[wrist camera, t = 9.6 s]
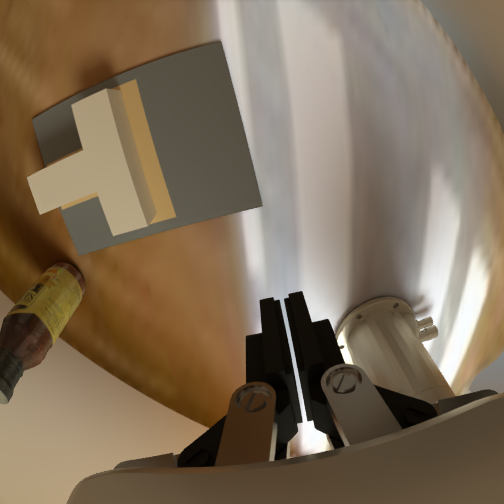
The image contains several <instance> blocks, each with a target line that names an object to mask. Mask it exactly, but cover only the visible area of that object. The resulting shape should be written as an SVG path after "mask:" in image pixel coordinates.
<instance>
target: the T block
mask: <svg viewBox="0 0 504 504" xmlns="http://www.w3.org/2000/svg"><path fill="white" fill-rule="evenodd" d="M71 106H72V110H73V114H74V118H75V122H76V126H77V130H78V133H79V137H80V140H81V144H82V147H83V150H82V151H80V152H78V153H76V154H73V155H71V156H69V157H67V158H65V159H63V160H61V161H58V162H56V163H54V164H52V165H50V166H48V167H46V168H44V169H42V170H40V171H38V172H37V173H35V174H33V175H31V176H29V177H27V179H28V183H29V186H30V189H31V191H32V194H33V197H34V200H35V203H36V206H37V208H38V211H39V214H40V215H41V214H43V213H45V212H48V211H50V210H52V209H55V208H57V207H60V206H62V205H65V204H67V203H70V202H72V201H75V200H77V199H80V198H82V197H85V196H87V195H90V194H93V193H95V192H97V194H98V197H99V200H100V203H101V206H102V208H103V211H104V214H105V216H106V219H107V222H108V224H109V227H110V230H111V232H112V235H113V236H116V235H119V234H123V233H126V232H129V231H133V230H136V229H140V228H143V227H147V226H148V225H149V224H150V223H151V221H152V220H153V218H154V217H155V216H156V214H157V211H156V208H155V205H154V202H153V199H152V196H151V193H150V190H149V187H148V183H147V180H146V177H145V174H144V171H143V167H142V164H141V161H140V157H139V154H138V151H137V147H136V144H135V140H134V137H133V133H132V130H131V126H130V123H129V119H128V115H127V111H126V108H125V104H124V100H123V96H122V92H121V91H120V90H114V89H107V88H106V89H104V90H102V91H99V92H97V93H95V94H93V95H91V96H89V97H86V98H84V99H82V100H80V101H78V102H76V103H74V104H72V105H71Z"/></svg>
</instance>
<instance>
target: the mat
mask: <svg viewBox="0 0 504 504" xmlns="http://www.w3.org/2000/svg"><path fill="white" fill-rule="evenodd" d="M106 88H107V89H114V90H120V91H121V92H122V96H123V100H124V104H125V108H126V111H127V115H128V119H129V123H130V126H131V130H132V133H133V137H134V140H135V144H136V147H137V151H138V154H139V157H140V161H141V164H142V167H143V171H144V174H145V177H146V180H147V183H148V187H149V190H150V193H151V196H152V199H153V202H154V205H155V208H156V211H157V214H156V216H155V217H154V218H153V220H152V221H151V223H150V224H149V225H148V226H147V227H143V228H140V229H136V230H133V231H129V232H126V233H123V234H119V235H116V236H113V235H112V232H111V230H110V227H109V224H108V222H107V219H106V216H105V214H104V211H103V208H102V206H101V203H100V200H99V197H98V194H97V192H95V193H93V194H90V195H87V196H85V197H82V198H80V199H77V200H75V201H72V202H70V203H67V204H65V205H62V206H60V207H59V208H60V211H61V213H62V216H63V218H64V221H65V223H66V226H67V228H68V231H69V233H70V236H71V238H72V240H73V243H74V245H75V247H76V250H77V252H78V254H79V256H80V255H83V254H86V253H90V252H93V251H96V250H100V249H103V248H106V247H110V246H113V245H117V244H120V243H124V242H127V241H131V240H134V239H138V238H141V237H145V236H148V235H152V234H156V233H159V232H163V231H167V230H170V229H174V228H178V227H182V226H185V225H189V224H193V223H197V222H201V221H205V220H208V219H212V218H216V217H220V216H224V215H228V214H232V213H236V212H240V211H245V210H249V209H253V208H257V207H261V206H263V205H262V201H261V197H260V193H259V189H258V184H257V180H256V176H255V172H254V168H253V164H252V160H251V156H250V152H249V148H248V144H247V140H246V136H245V132H244V128H243V124H242V120H241V116H240V112H239V108H238V104H237V100H236V96H235V92H234V88H233V85H232V81H231V77H230V73H229V69H228V65H227V62H226V58H225V54H224V50H223V47H222V43H221V41H220V42H216V43H212V44H208V45H205V46H201V47H197V48H194V49H190V50H187V51H184V52H180V53H177V54H174V55H171V56H168V57H165V58H162V59H159V60H156V61H153V62H150V63H148V64H145V65H142V66H140V67H137V68H134V69H132V70H129V71H127V72H124V73H122V74H120V75H117V76H115V77H113V78H110V79H108V80H106V81H103V82H101V83H99V84H97V85H95V86H93V87H91V88H88V89H86V90H84V91H82V92H80V93H78V94H76V95H74V96H73V97H71V98H69V99H67V100H65V101H63V102H61V103H59V104H58V105H56V106H54V107H52V108H50V109H49V110H47V111H45V112H44V113H42V114H40V115H39V116H37V117H35V118H34V119H32V121H33V125H34V129H35V133H36V137H37V140H38V144H39V148H40V151H41V155H42V158H43V161H44V164H45V168H46V167H48V166H50V165H52V164H54V163H56V162H58V161H61V160H63V159H65V158H67V157H69V156H71V155H73V154H76V153H78V152H80V151H82V150H83V147H82V144H81V140H80V137H79V133H78V130H77V126H76V122H75V118H74V114H73V110H72V106H71V105H72V104H74V103H76V102H78V101H80V100H82V99H84V98H86V97H89V96H91V95H93V94H95V93H97V92H99V91H102V90H104V89H106Z"/></svg>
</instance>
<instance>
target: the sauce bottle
mask: <svg viewBox="0 0 504 504" xmlns="http://www.w3.org/2000/svg"><path fill="white" fill-rule="evenodd" d="M84 294H85V281H84V279H83V276H82V274H81V273H80V272H79V271H78V270H77V269H76V268H75V267H74V266H73V265H71V264H69V263H65V262H59V263H56V264H54V265H53V266H52V267H50V268H48V269H47V270H46V271H45V272H44V273H43V274H42V275H41V276H40V277H39V279H38V280H37V281H36V282H35V283H34V284H33V285H32V286H31V287H30V288H29V289H28V291H27V292H26V293H25V294H24V295H23V296H22V298H21V299H20V300H19V301H18V302H17V303H16V305H15V306H14V307H13V308H12V309H11V310H10V312H9V313H8V314H7V316H6V317H5V318H4V320H3V324H2V327H1V331H0V403H1V404H7V403H8V402H9V400H10V399H11V397H12V395H13V390H14V387H15V386H16V383H17V382H18V380H19V378H20V377H21V376H22V375H23V371H25V370H27V369H30V368H33V367H35V366H37V365H39V364H40V363H41V362H42V360H43V359H44V358H45V356H46V354H47V352H48V350H49V349H50V348H51V347H52V346H53V344H54V343H55V341H56V339H57V338H58V336H59V334H60V333H61V331H62V330H63V328H64V326H65V325H66V323H67V322H68V320H69V319H70V317H71V316H72V314H73V313H74V311H75V310H76V308H77V306H78V305H79V303H80V302H81V299H82V298H83V296H84Z"/></svg>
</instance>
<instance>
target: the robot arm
mask: <svg viewBox="0 0 504 504" xmlns="http://www.w3.org/2000/svg"><path fill="white" fill-rule="evenodd" d="M284 302H285V307H286V312H287V317H288V322H289V327H290V332H291V337H292V342H293V347H294V352H295V357H296V363H297V368H298V373H299V378H300V383H301V389H302V394H303V399H304V405H305V410H306V416H307V421H312V420H313V421H314V426H315V428H316V429H317V430H319V431H321V432H323V433H325V434H326V436H327V440H328V442H329V444H330V446H331V449H332V450H330V451H325V452H321V453H316V454H311V455H306V456H300V457H294V458H289V455H290V440H291V439H292V438H293V437H294V436H295V435H296V433H297V432H298V427H297V423H302V422H303V421H302V415H301V409H300V403H299V398H298V392H297V386H296V380H295V375H294V369H293V363H292V358H291V353H290V348H289V343H288V338H287V333H286V328H285V323H284V319H283V314H282V309H281V304H280V300H275V301H274V298H273V297H271V298H267V299H262V300H260V312H261V325H262V333H259V334H253V335H248V336H246V384H244V385H242V386H241V387H239V388H238V389H237V390H236V391H235V392H234V393H233V394H232V397H231V399H230V403H229V408H228V412H227V414H226V415H225V416H224V417H223V418H222V419H221V420H219V421H218V422H217V423H216V424H215V425H213V426H212V427H211V428H210V429H209V430H207V431H206V432H205V433H204V434H203V435H201V436H200V437H199V438H198V439H196V440H195V441H194V442H193V443H192V444H190V445H189V446H188V447H186V448H185V449H184V450H183V451H182V452H181V454H178V455H174V453H169V454H164V455H159V456H153V457H149V458H142V459H136V460H129V461H124V462H121V463H119V464H118V465H117V466H116V467H115V468H114V469H113V470H108V471H104V472H100V473H96V474H94V475H91V476H89V477H86V478H85V479H83V480H82V481H80V482H79V483H78V484H77V485H76V487H75V488H74V490H73V491H72V493H71V495H70V497H69V499H68V502H67V504H504V393H500V394H498V393H497V392H496V391H493V390H481V391H477V392H473V393H469V394H465V395H460V396H455V394H454V393H453V391H452V390H451V388H450V386H449V385H448V383H447V381H446V380H445V378H444V376H443V375H442V373H441V372H440V370H439V369H438V367H437V365H436V364H435V362H434V361H433V359H432V358H431V356H430V355H429V353H428V351H427V350H426V348H425V347H424V345H423V344H422V342H424V341H426V340H427V341H428V340H431V339H433V338H436V337H438V329H437V327H436V326H435V325H433V320H432V318H431V317H427V318H425V319H422V320H420V321H417V320H415V316H414V313H413V311H412V309H411V308H410V306H409V305H408V304H407V303H406V302H405V301H403V300H402V299H400V298H396V297H379V298H376V299H373V300H370V301H368V302H366V303H363V304H362V305H360V306H359V307H357V308H356V309H354V310H353V311H352V312H351V313H350V314H349V315H348V316H347V317H346V318H345V319H344V320H343V322H342V323H341V325H340V326H339V328H338V330H337V333H336V336H335V334H334V331H333V329H332V326H331V324H330V321H329V319H325V320H321V321H316V322H312V321H311V318H310V315H309V311H308V308H307V305H306V302H305V299H304V295H303V292H302V291H300V292H295V293H290V294H289V298H285V299H284ZM432 325H433V326H432ZM429 326H430V327H429ZM426 327H428V328H426ZM422 328H425V329H424V330H422V331H420V329H422Z"/></svg>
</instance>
